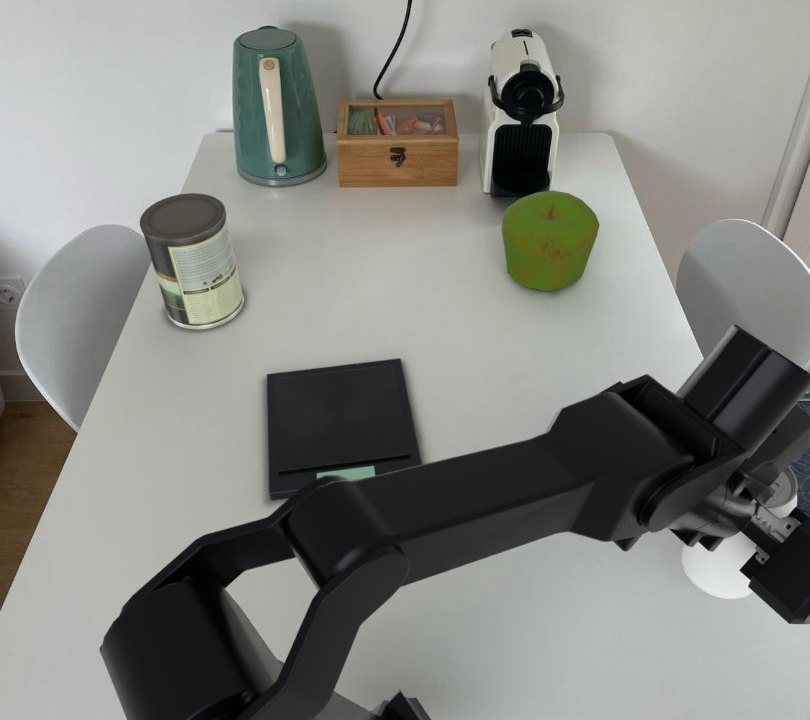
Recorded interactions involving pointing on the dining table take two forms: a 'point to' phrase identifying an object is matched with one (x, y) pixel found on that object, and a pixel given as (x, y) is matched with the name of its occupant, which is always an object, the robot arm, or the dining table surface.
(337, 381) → the scale
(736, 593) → the can
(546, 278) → the apple
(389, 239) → the dining table surface
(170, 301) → the coffee can
